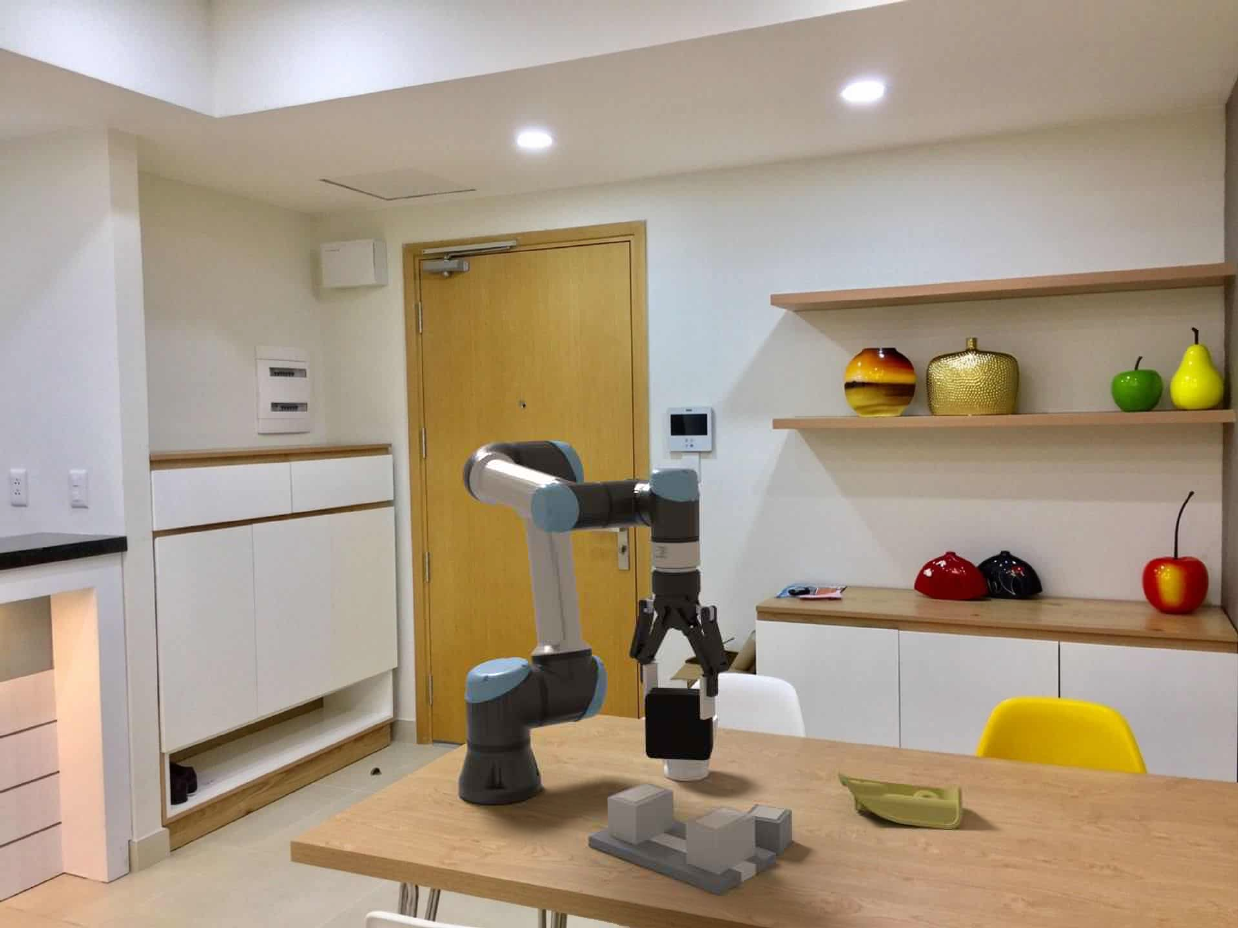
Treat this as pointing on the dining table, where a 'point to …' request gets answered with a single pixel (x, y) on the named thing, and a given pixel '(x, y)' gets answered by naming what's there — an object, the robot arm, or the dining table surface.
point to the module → (772, 827)
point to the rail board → (682, 840)
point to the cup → (689, 765)
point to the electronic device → (676, 725)
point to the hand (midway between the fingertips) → (678, 710)
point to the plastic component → (907, 802)
